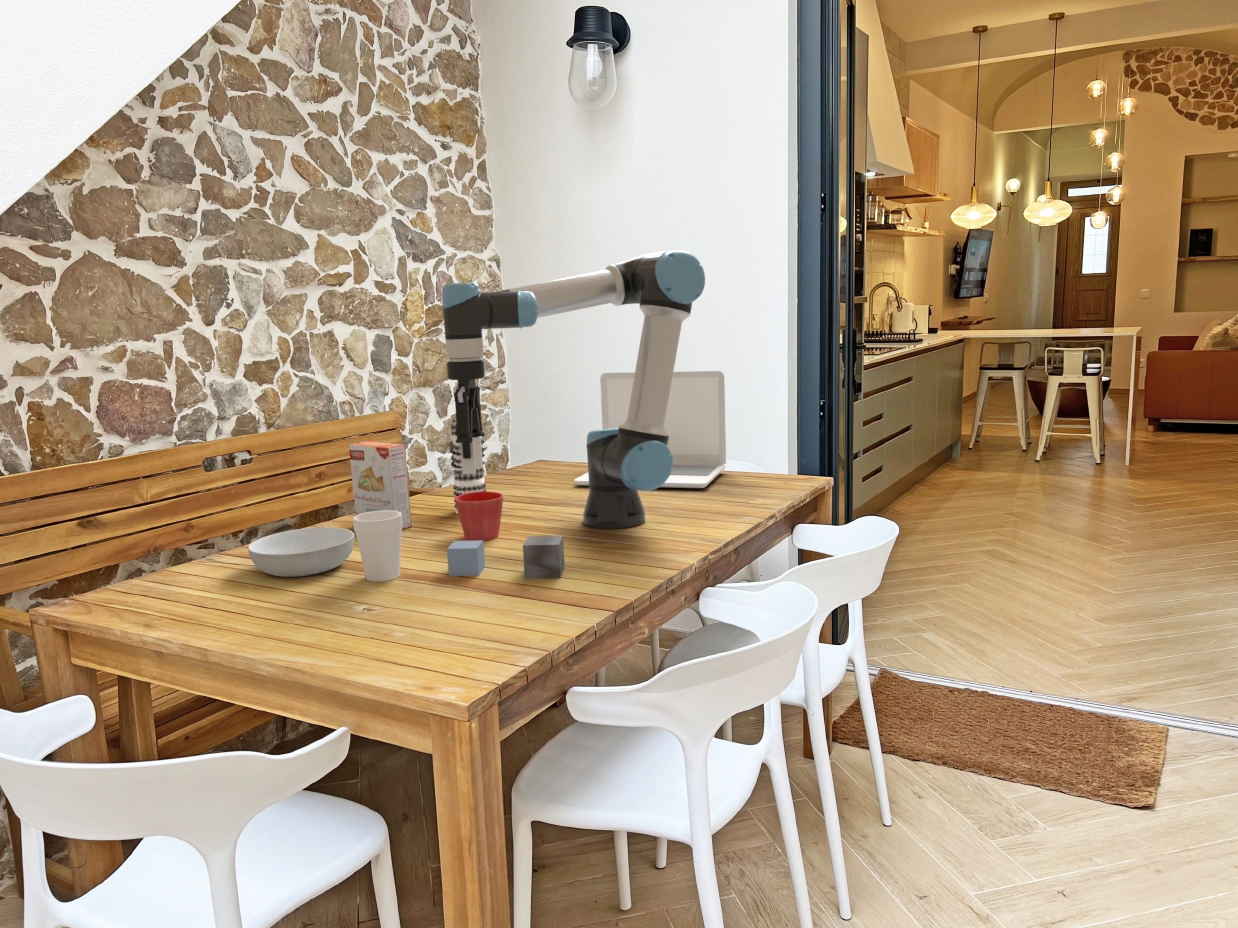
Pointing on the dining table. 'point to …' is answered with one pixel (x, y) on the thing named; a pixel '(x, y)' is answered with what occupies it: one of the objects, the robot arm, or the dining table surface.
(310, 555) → the serving bowl
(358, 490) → the cracker box
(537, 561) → the charcoal block
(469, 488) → the black and white cylinder
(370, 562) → the foam cup
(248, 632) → the dining table surface
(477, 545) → the slate-blue block
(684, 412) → the laptop
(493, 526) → the flower pot
